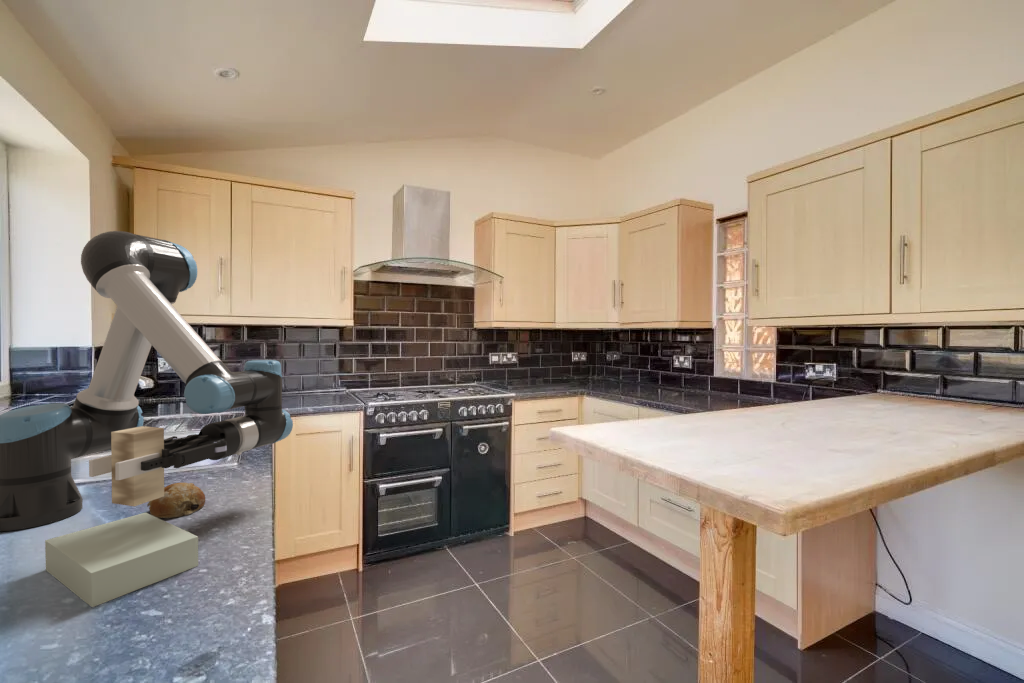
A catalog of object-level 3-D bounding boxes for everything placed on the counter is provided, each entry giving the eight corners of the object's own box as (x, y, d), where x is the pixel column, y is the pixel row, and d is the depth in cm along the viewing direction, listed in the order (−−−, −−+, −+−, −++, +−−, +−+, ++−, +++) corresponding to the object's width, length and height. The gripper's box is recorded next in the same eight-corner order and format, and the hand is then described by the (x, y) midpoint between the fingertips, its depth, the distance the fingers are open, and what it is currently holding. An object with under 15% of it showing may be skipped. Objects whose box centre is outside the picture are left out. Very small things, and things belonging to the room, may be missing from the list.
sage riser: (45, 570, 77) (45, 540, 77) (145, 538, 89) (145, 512, 89) (91, 607, 67) (91, 573, 67) (198, 565, 79) (198, 536, 79)
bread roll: (167, 538, 97) (181, 505, 97) (131, 513, 99) (144, 481, 98) (207, 519, 107) (219, 489, 106) (173, 497, 109) (185, 468, 108)
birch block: (111, 503, 78) (111, 432, 77) (142, 493, 82) (142, 426, 82) (134, 506, 76) (133, 434, 76) (164, 496, 81) (163, 428, 81)
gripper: (263, 459, 94) (146, 499, 72) (193, 452, 99) (63, 487, 76) (263, 422, 94) (146, 451, 72) (193, 417, 99) (63, 442, 76)
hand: (104, 470), depth 74 cm, fingers closed on birch block, 5 cm apart
